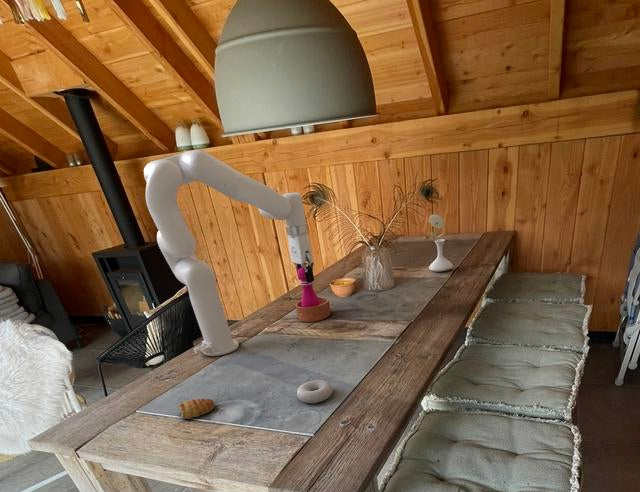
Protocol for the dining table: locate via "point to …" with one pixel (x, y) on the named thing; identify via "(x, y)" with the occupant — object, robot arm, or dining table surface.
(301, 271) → the pepper mill
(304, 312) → the bowl
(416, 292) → the dining table surface
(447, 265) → the flower in vase
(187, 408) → the pastry
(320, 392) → the donut
